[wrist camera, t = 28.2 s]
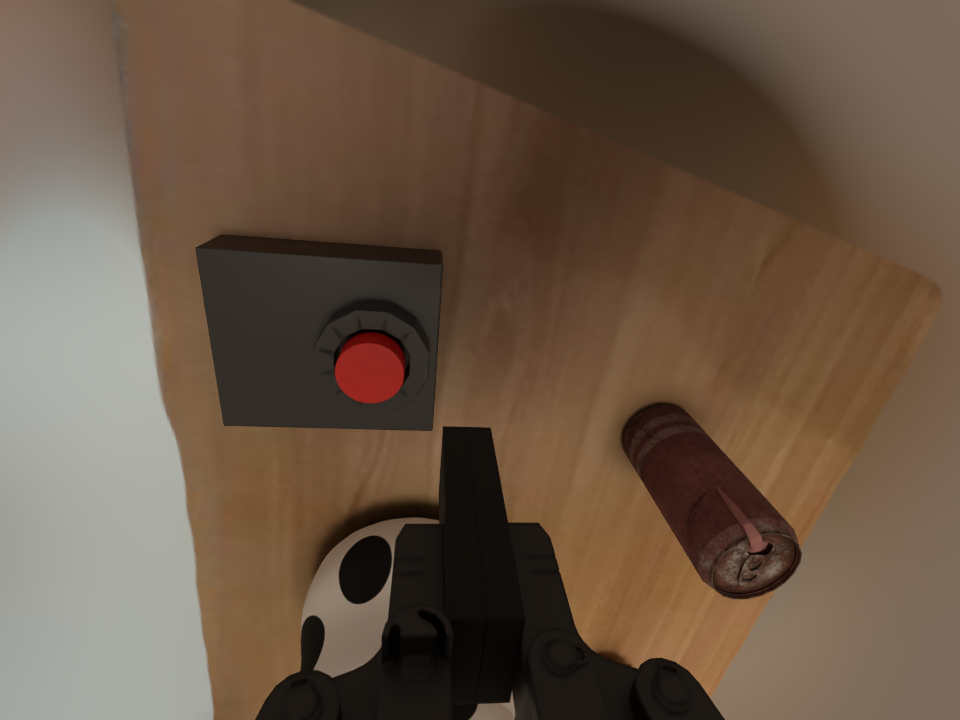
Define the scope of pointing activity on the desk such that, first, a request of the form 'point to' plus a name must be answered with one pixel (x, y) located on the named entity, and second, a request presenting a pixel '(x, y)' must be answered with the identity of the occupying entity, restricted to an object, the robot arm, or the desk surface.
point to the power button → (370, 367)
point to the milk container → (362, 608)
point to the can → (711, 505)
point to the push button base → (317, 329)
